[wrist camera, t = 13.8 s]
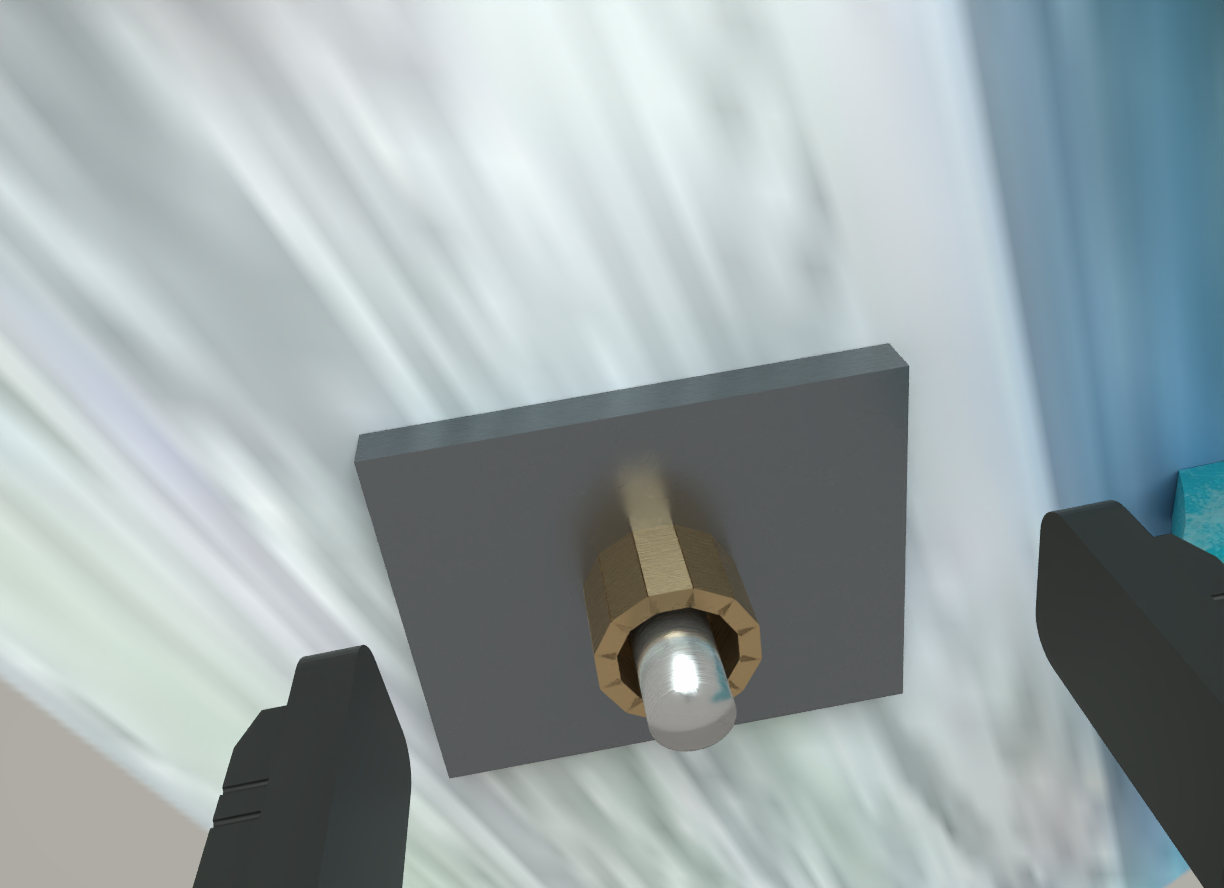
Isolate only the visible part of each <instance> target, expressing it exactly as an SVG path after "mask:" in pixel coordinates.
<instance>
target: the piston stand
mask: <svg viewBox="0 0 1224 888" xmlns="http://www.w3.org/2000/svg"><path fill="white" fill-rule="evenodd" d="M908 395H909V365H908V364H907V363H906V362H905V361H904V360H903V358H902V357H901V356H900V355H899V354H898V353H897V352H896V351H895V350H894V348H893V347H892V346H891V345H890V344H883V345H878V346H872V347H866V348H860V349H854V350H849V351H843V352H837V353H831V354H825V355H820V356H814V357H808V358H802V359H796V360H791V361H785V362H779V363H773V364H768V365H762V366H756V367H750V368H744V369H739V370H733V371H727V372H721V373H715V374H710V375H704V376H698V377H692V378H686V379H681V380H675V381H669V382H663V383H657V384H652V385H646V386H640V387H634V388H629V389H623V390H617V391H611V392H605V393H600V394H594V395H588V396H582V397H576V398H571V399H565V400H559V401H553V402H547V403H542V404H536V405H530V406H524V407H518V408H513V409H507V410H501V411H495V412H490V413H484V414H478V415H472V416H466V417H461V418H455V419H449V420H443V421H437V422H432V423H426V424H420V425H414V426H408V427H403V428H397V429H391V430H385V431H380V432H374V433H368V434H362V435H359V440H358V445H357V451H356V456H355V461H354V463H355V466H356V470H357V473H358V476H359V480H360V483H361V486H362V490H363V493H364V496H365V500H366V503H367V506H368V510H369V513H370V516H371V520H372V523H373V526H374V530H375V533H376V536H377V540H378V543H379V546H380V550H381V553H382V556H383V559H384V563H385V566H386V569H387V573H388V576H389V579H390V583H391V586H392V589H393V593H394V596H395V599H396V603H397V606H398V609H399V613H400V616H401V619H402V623H403V626H404V629H405V633H406V636H407V639H408V643H409V646H410V649H411V653H412V656H413V659H414V662H415V666H416V669H417V672H418V676H419V679H420V682H421V686H422V689H423V692H424V696H425V699H426V702H427V706H428V709H429V712H430V716H431V719H432V722H433V726H434V729H435V732H436V736H437V739H438V742H439V746H440V749H441V752H442V756H443V759H444V762H445V765H446V769H447V772H448V775H449V778H454V777H459V776H465V775H470V774H475V773H481V772H486V771H491V770H497V769H502V768H507V767H513V766H518V765H523V764H529V763H534V762H539V761H545V760H550V759H555V758H561V757H566V756H571V755H577V754H582V753H587V752H593V751H598V750H603V749H609V748H614V747H619V746H625V745H630V744H635V743H641V742H646V741H651V740H656V741H657V742H658V743H659V744H661V745H662V746H664V747H666V748H669V749H672V750H677V751H695V750H700V749H703V748H706V747H709V746H711V745H713V744H715V743H717V742H718V741H720V740H721V739H722V738H724V737H725V736H726V735H727V734H728V733H729V731H730V730H731V729H732V727H733V725H736V724H742V723H747V722H752V721H758V720H763V719H768V718H774V717H779V716H784V715H790V714H795V713H800V712H806V711H811V710H816V709H822V708H827V707H832V706H838V705H843V704H848V703H854V702H859V701H864V700H870V699H875V698H880V697H886V696H891V695H896V694H902V693H903V647H904V597H905V546H906V496H907V446H908ZM669 524H673V525H674V524H676V525H679V526H683V527H686V528H690V529H693V530H697V531H701V532H704V533H708V534H711V535H712V536H713V537H714V538H715V539H716V540H717V542H718V543H719V544H720V545H721V546H722V547H723V548H724V549H725V550H726V551H727V553H728V554H729V555H730V556H731V557H732V558H733V559H734V561H735V564H736V566H737V569H738V572H739V574H740V577H741V579H742V582H743V585H744V587H745V590H746V592H747V595H748V597H749V600H750V603H751V605H752V608H753V610H754V613H755V616H756V618H757V621H758V623H759V626H760V640H761V653H762V660H761V662H760V663H759V665H758V667H757V668H756V670H755V672H754V673H753V675H752V677H751V678H750V680H749V682H748V683H747V685H746V687H745V688H744V690H743V691H742V692H741V693H739V694H738V695H736V696H735V697H733V696H732V693H731V690H730V687H729V683H728V680H727V677H726V674H725V671H724V668H723V665H722V662H721V658H720V655H719V652H718V649H717V646H716V643H715V640H714V637H713V634H712V630H711V627H710V624H709V621H708V618H707V615H706V611H703V610H699V609H695V608H691V607H688V608H682V609H677V610H671V611H666V612H660V613H656V614H655V615H653V616H652V617H650V618H649V619H647V620H646V621H644V622H643V623H641V624H640V625H638V626H637V627H635V628H634V629H633V630H631V631H630V632H629V637H630V641H631V646H632V651H633V656H634V660H635V665H636V670H637V674H638V679H639V684H640V689H641V693H642V698H643V703H644V708H645V712H646V717H642V716H638V715H633V714H629V713H627V712H625V711H624V710H623V709H622V708H620V707H619V706H618V705H617V704H616V703H615V702H614V701H613V700H611V699H610V698H609V697H608V696H607V695H606V694H605V693H604V692H603V691H601V690H600V686H599V681H598V675H597V670H596V665H595V659H594V653H593V647H592V641H591V635H590V628H589V622H588V616H587V610H586V603H585V597H584V591H583V586H584V584H585V582H586V580H587V578H588V576H589V573H590V571H591V569H592V567H593V565H594V563H595V561H596V559H597V557H598V555H599V554H600V553H602V552H603V551H605V550H606V549H607V548H609V547H610V546H612V545H613V544H614V543H616V542H617V541H619V540H620V539H621V538H623V537H624V536H626V535H627V534H629V533H630V532H632V531H636V530H642V529H647V528H653V527H658V526H664V525H669ZM632 533H633V532H632Z"/></svg>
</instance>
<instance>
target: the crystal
mask: <svg viewBox="0 0 1224 888" xmlns="http://www.w3.org/2000/svg"><path fill="white" fill-rule="evenodd" d="M1172 534H1173V535H1175V536H1177V537H1179V538H1181V539H1183V540H1185V541H1187V542H1189V543H1191V544H1193V545H1195V546H1197V547H1199V548H1201V549H1202V550H1204V551H1206V552H1208V553H1210V554H1212V555H1214V556H1216V557H1217V558H1218V559H1219V560H1221V561H1222V562H1223V563H1224V461H1222V462H1217V463H1212V464H1207V465H1202V466H1197V467H1192V468H1187V469H1182V470H1179V473H1178V480H1177V487H1176V494H1175V500H1174V507H1173V514H1172Z"/></svg>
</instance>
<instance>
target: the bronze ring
mask: <svg viewBox="0 0 1224 888" xmlns="http://www.w3.org/2000/svg"><path fill="white" fill-rule="evenodd" d="M632 532H633V533H632ZM632 532H630V533H629V534H627V535H626V536H624V537H623V538H621V539H620V540H619V541H617V542H616V543H614V544H613V545H612V546H610V547H609V548H607V549H606V550H605V551H603V552H602V553H600V554H599V555H598V557H597V559H596V561H595V563H594V565H593V567H592V569H591V571H590V573H589V576H588V578H587V580H586V582H585V584H584V586H583V591H584V597H585V603H586V610H587V616H588V622H589V628H590V635H591V641H592V647H593V653H594V659H595V665H596V670H597V675H598V681H599V686H600V690H601V691H603V692H604V693H605V694H606V695H607V696H608V697H609V698H610V699H611V700H613V701H614V702H615V703H616V704H617V705H618V706H619V707H620V708H622V709H623V710H624V711H625V712H627V713H629V714H633V715H638V716H642V717H646V712H645V708H644V703H643V698H642V693H641V689H640V684H639V679H638V674H637V670H636V665H635V660H634V656H633V651H632V646H631V641H630V637H629V632H630V631H631V630H633V629H634V628H635V627H637V626H638V625H640V624H641V623H643V622H644V621H646V620H647V619H649V618H650V617H652V616H653V615H655V614H656V613H660V612H666V611H671V610H677V609H682V608H688V607H691V608H695V609H699V610H703V611H706V615H707V618H708V621H709V624H710V627H711V630H712V634H713V637H714V640H715V643H716V646H717V649H718V652H719V655H720V658H721V662H722V665H723V668H724V671H725V674H726V677H727V680H728V683H729V687H730V690H731V693H732V696H733V697H735V696H736V695H738V694H739V693H741V692H742V691H743V690H744V688H745V687H746V685H747V683H748V682H749V680H750V678H751V677H752V675H753V673H754V672H755V670H756V668H757V667H758V665H759V663H760V662H761V660H762V653H761V640H760V626H759V623H758V621H757V618H756V616H755V613H754V610H753V608H752V605H751V603H750V600H749V597H748V595H747V592H746V590H745V587H744V585H743V582H742V579H741V577H740V574H739V572H738V569H737V566H736V564H735V561H734V559H733V558H732V557H731V556H730V555H729V554H728V553H727V551H726V550H725V549H724V548H723V547H722V546H721V545H720V544H719V543H718V542H717V540H716V539H715V538H714V537H713V536H712V535H711V534H708V533H704V532H701V531H697V530H693V529H690V528H686V527H683V526H679V525H676V524H674V525H673V524H669V525H664V526H658V527H653V528H647V529H642V530H636V531H632Z"/></svg>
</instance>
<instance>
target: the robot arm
mask: <svg viewBox="0 0 1224 888" xmlns="http://www.w3.org/2000/svg"><path fill="white" fill-rule="evenodd" d="M1036 623H1037V629H1038V634H1039V637H1040V641H1041V644H1042V647H1043V650H1044V652H1045V654H1046V657H1047V658H1048V660H1049V662H1050V664H1051V666H1052V667H1053V669H1054V670H1055V672H1056V673H1057V675H1058V676H1059V677H1060V679H1061V680H1062V682H1063V683H1064V685H1065V686H1066V688H1067V689H1068V691H1069V692H1070V693H1071V695H1072V696H1073V698H1074V699H1075V701H1076V702H1077V704H1078V705H1079V707H1080V708H1081V709H1082V711H1083V712H1084V714H1085V715H1086V717H1087V718H1088V720H1089V721H1090V723H1091V724H1092V726H1093V727H1094V728H1095V730H1096V731H1097V733H1098V734H1099V736H1100V737H1101V739H1102V740H1103V742H1104V743H1105V744H1106V746H1107V747H1108V749H1109V750H1110V752H1111V753H1112V755H1113V756H1114V758H1115V759H1116V760H1117V762H1118V763H1119V765H1120V766H1121V768H1122V769H1123V771H1124V772H1125V774H1126V775H1127V776H1128V778H1129V779H1130V781H1131V782H1132V784H1133V785H1134V787H1135V788H1136V790H1137V791H1138V793H1139V794H1140V795H1141V797H1142V798H1143V800H1144V801H1145V803H1146V804H1147V806H1148V807H1149V809H1150V810H1151V811H1152V813H1153V814H1154V816H1155V817H1156V819H1157V820H1158V822H1159V823H1160V825H1161V826H1162V827H1163V829H1164V830H1165V832H1166V833H1167V835H1168V836H1169V838H1170V839H1171V841H1172V842H1173V843H1174V845H1175V846H1176V848H1177V849H1178V851H1179V852H1180V854H1181V855H1182V857H1183V858H1184V860H1185V861H1186V862H1187V864H1188V865H1189V867H1190V868H1191V870H1192V871H1193V873H1194V874H1195V876H1196V877H1197V878H1198V880H1199V881H1200V883H1201V884H1202V886H1203V887H1204V888H1224V563H1223V562H1222V561H1221V560H1219V559H1218V558H1217V557H1216V556H1214V555H1212V554H1210V553H1208V552H1206V551H1204V550H1202V549H1201V548H1199V547H1197V546H1195V545H1193V544H1191V543H1189V542H1187V541H1185V540H1183V539H1181V538H1179V537H1177V536H1175V535H1173V534H1166V535H1161V536H1156V537H1153V536H1152V535H1151V534H1150V533H1149V532H1148V531H1147V530H1146V529H1145V528H1144V527H1143V526H1142V525H1141V524H1140V523H1139V522H1138V521H1137V519H1136V518H1135V517H1134V516H1133V515H1132V514H1131V513H1130V512H1129V511H1128V510H1127V509H1126V508H1125V507H1124V506H1123V505H1122V504H1120V503H1119V502H1117V501H1114V500H1108V501H1103V502H1098V503H1093V504H1088V505H1082V506H1077V507H1072V508H1067V509H1062V510H1057V511H1052V512H1048V513H1046V515H1045V516H1044V517H1043V520H1042V523H1041V530H1040V546H1039V563H1038V580H1037V597H1036ZM222 788H223V795H220V797H219V800H218V804H217V807H216V810H215V814H214V817H213V823H214V826H213V828H211V829H210V831H209V834H208V837H207V841H206V845H205V848H204V851H203V854H202V858H201V861H200V865H199V868H198V871H197V875H196V878H195V882H194V885H193V888H402V883H403V872H404V861H405V850H406V839H407V828H408V818H409V807H410V796H411V768H410V760H409V753H408V748H407V744H406V740H405V737H404V734H403V731H402V728H401V726H400V723H399V721H398V718H397V715H396V713H395V710H394V708H393V705H392V703H391V700H390V697H389V695H388V692H387V690H386V687H385V684H384V682H383V679H382V677H381V674H380V671H379V669H378V666H377V664H376V661H375V659H374V656H373V654H372V652H371V650H370V649H369V648H368V647H367V646H366V645H361V646H356V647H351V648H346V649H341V650H336V651H330V652H325V653H320V654H315V655H310V656H305V657H302V658H301V659H300V660H299V662H298V664H297V667H296V671H295V675H294V679H293V683H292V687H291V691H290V695H289V699H288V703H287V705H286V706H281V707H276V708H271V709H266V710H262V711H261V712H260V713H259V715H258V716H257V717H256V719H255V720H254V721H253V723H252V724H251V726H250V727H249V728H248V730H247V731H246V732H245V734H244V735H243V736H242V738H241V739H240V740H239V742H238V743H237V744H236V746H235V747H234V749H233V753H232V756H231V759H230V763H229V766H228V770H227V773H226V776H225V780H224V783H223V787H222Z"/></svg>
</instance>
